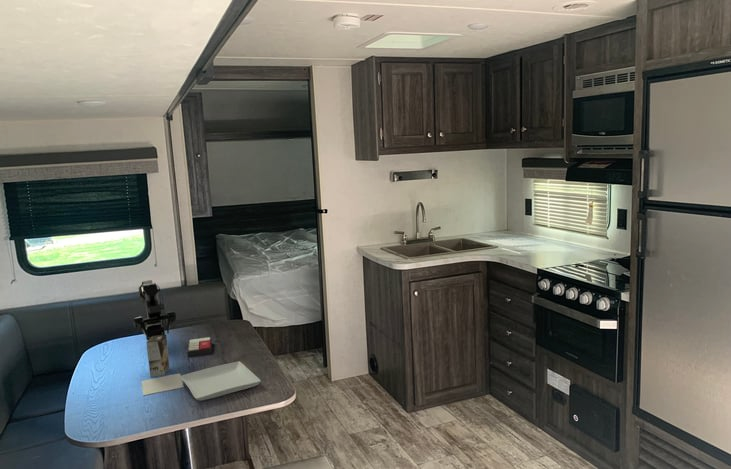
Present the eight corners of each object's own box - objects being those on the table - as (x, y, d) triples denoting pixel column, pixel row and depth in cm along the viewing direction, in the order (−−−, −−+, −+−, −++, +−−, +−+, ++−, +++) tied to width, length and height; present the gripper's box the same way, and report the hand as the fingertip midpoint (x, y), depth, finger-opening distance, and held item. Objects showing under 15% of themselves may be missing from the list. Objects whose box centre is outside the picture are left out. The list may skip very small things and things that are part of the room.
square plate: (196, 407, 212) (195, 397, 211) (179, 383, 235) (178, 375, 234) (262, 388, 226) (261, 379, 225) (240, 367, 249) (239, 359, 248)
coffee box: (164, 375, 243) (160, 341, 241) (149, 376, 243) (145, 342, 240) (170, 367, 252) (166, 334, 250) (155, 368, 252) (152, 335, 249)
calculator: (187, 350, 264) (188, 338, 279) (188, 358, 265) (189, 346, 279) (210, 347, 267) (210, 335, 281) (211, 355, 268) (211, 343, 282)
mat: (141, 381, 238) (141, 380, 238) (180, 373, 244) (179, 373, 244) (143, 395, 224) (143, 395, 224) (183, 387, 230) (183, 386, 230)
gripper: (131, 301, 254) (136, 331, 246) (173, 295, 262) (179, 323, 255) (132, 312, 262) (136, 342, 255) (172, 306, 271) (178, 334, 263)
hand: (157, 335), depth 257 cm, fingers open, 9 cm apart
